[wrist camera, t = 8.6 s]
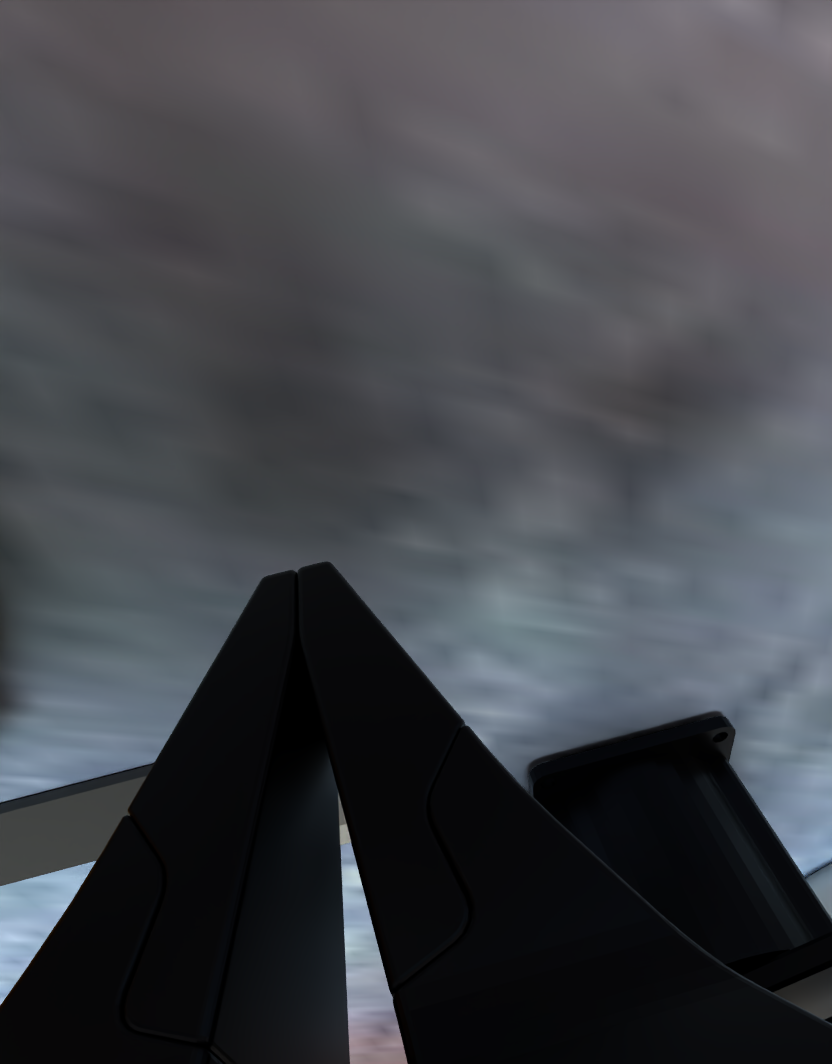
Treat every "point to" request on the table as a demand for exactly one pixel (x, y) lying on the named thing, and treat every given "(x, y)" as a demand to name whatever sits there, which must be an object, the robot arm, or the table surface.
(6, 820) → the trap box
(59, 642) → the table surface
